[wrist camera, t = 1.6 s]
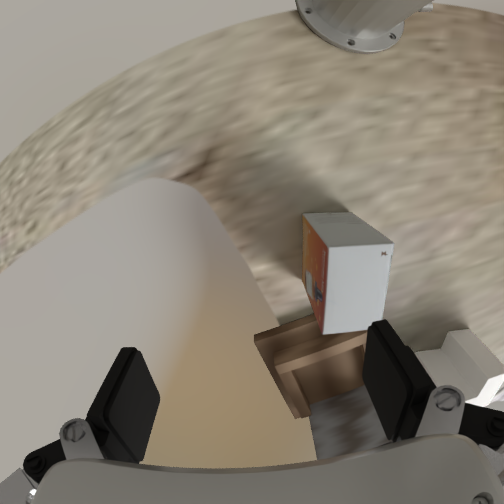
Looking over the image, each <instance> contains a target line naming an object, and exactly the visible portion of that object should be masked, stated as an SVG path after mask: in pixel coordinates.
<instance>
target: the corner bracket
mask: <svg viewBox="0 0 504 504" xmlns="http://www.w3.org/2000/svg"><path fill="white" fill-rule="evenodd" d="M415 355H416V357H417V358H418V360H419V361H420V363H421V364H422V366H423V367H424V369H425V370H426V372H427V373H428V375H429V376H430V378H431V379H432V381H433V382H434V384H435V385H436V387H439V386H443V385H451V386H454V387H457V388H458V389H460V390H461V391H462V393H463V394H464V397H465V403H469V404H473V405H477V406H481V407H484V406H487V405H488V404H489V403H490V402H491V400H492V399H493V397H494V396H495V394H496V393H497V391H498V389H499V388H500V386H501V385H502V383H503V381H504V365H503V364H502V363H501V362H500V361H499V359H498V358H497V357H496V356H495V355H494V354H493V353H492V352H491V351H490V350H489V348H488V347H487V346H486V345H485V344H484V343H483V342H482V341H481V340H480V339H479V338H478V337H477V336H476V335H475V334H474V333H473V332H472V331H471V330H470V329H464V330H456V331H448V333H447V335H446V338H445V340H444V342H443V345H442V347H441V349H435V350H427V351H419V352H415Z"/></svg>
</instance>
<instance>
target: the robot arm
mask: <svg viewBox="0 0 504 504" xmlns="http://www.w3.org/2000/svg"><path fill="white" fill-rule="evenodd" d="M432 1H434V0H295V2H296V6H297V10H298V12H299V14H300V16H301V18H302V19H303V20H304V22H305V23H306V24H307V26H308V27H309V28H310V29H311V30H312V31H313V32H314V33H315V34H317V35H318V36H319V37H321V38H322V39H324V40H325V41H327V42H329V43H330V44H332V45H334V46H336V47H339V48H341V49H344V50H347V51H351V52H354V53H363V54H371V53H378V52H381V51H384V50H386V49H388V48H390V47H391V46H393V45H394V44H395V43H397V41H398V40H399V39H400V38H401V35H402V33H403V30H404V20H405V19H407V18H408V17H409V16H411V15H412V14H414V13H415V12H417V11H419V12H430V11H432V9H433V5H432V3H431V2H432ZM307 13H309V14H307ZM348 43H349V44H350V45H349V44H348ZM362 378H363V382H364V384H365V387H366V389H367V391H368V394H369V396H370V398H371V401H372V403H373V405H374V408H375V410H376V413H377V415H378V417H379V420H380V422H381V425H382V427H383V430H384V432H385V435H386V437H387V439H388V440H392V442H393V443H390V444H387V445H383V446H380V447H376V448H372V449H368V450H364V451H360V452H355V453H351V454H346V455H342V456H337V457H332V458H326V459H321V460H315V461H309V462H302V463H294V464H287V465H277V466H266V467H252V468H226V469H207V468H205V469H203V468H179V467H165V466H154V465H145V464H139V462H140V461H142V460H143V459H144V455H145V451H146V448H147V444H148V441H149V437H150V434H151V430H152V427H153V423H154V420H155V416H156V413H157V409H158V406H159V403H160V395H159V392H158V390H157V388H156V386H155V384H154V381H153V379H152V377H151V375H150V372H149V370H148V367H147V365H146V363H145V360H144V358H143V356H142V354H141V352H140V351H138V350H137V349H136V348H135V347H123V348H122V349H121V350H120V352H119V354H118V356H117V357H116V359H115V361H114V363H113V365H112V367H111V368H110V371H109V372H108V374H107V376H106V378H105V380H104V382H103V384H102V386H101V387H100V390H99V392H98V393H97V395H96V398H95V399H94V401H93V403H92V405H91V407H90V409H89V411H88V413H87V417H86V419H85V420H84V419H80V418H75V419H72V420H69V421H68V422H66V423H65V424H64V425H63V426H62V428H61V429H60V433H59V435H60V439H59V440H57V441H55V442H52V443H50V444H48V445H46V446H44V447H42V448H40V449H37V450H35V451H33V452H31V453H29V454H28V455H27V456H26V458H25V460H24V463H23V467H24V469H23V470H21V469H20V468H19V469H17V470H16V471H15V472H14V473H13V474H11V475H10V476H9V477H8V478H7V479H5V480H4V481H3V482H1V483H0V504H504V412H502V411H498V410H493V409H489V408H485V407H481V406H477V405H473V404H469V403H465V397H464V394H463V393H462V391H461V390H460V389H458V388H457V387H454V386H451V385H443V386H439V387H436V385H435V384H434V382H433V381H432V379H431V378H430V376H429V375H428V373H427V372H426V370H425V369H424V367H423V366H422V364H421V363H420V361H419V360H418V358H417V357H416V355H415V354H414V352H413V351H412V350H411V348H410V347H409V346H405V345H404V344H403V342H402V341H401V339H400V338H399V336H398V335H397V334H396V332H395V331H394V329H393V328H392V327H391V325H390V324H389V322H388V321H387V320H386V319H384V320H379V321H374V322H372V324H371V326H368V329H367V339H366V348H365V356H364V364H363V371H362Z"/></svg>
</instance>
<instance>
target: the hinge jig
mask: <svg viewBox="0 0 504 504" xmlns="http://www.w3.org/2000/svg"><path fill="white" fill-rule="evenodd" d="M366 339H367V330H361V331H353V332H344V333H335V334H322V333H321V330H320V328H319V325H318V322H317V319H316V317H315V314H312V315H309V316H307V317H304V318H301V319H298V320H296V321H293V322H290V323H287V324H284V325H282V326H279V327H276V328H273V329H270V330H267V331H264V332H261V333H258V334H255V335H254V343H255V345H256V347H257V348H258V350H259V352H260V354H261V356H262V358H263V360H264V362H265V364H266V366H267V368H268V370H269V371H270V373H271V375H272V377H273V379H274V381H275V383H276V384H277V386H278V388H279V390H280V392H281V394H282V396H283V398H284V399H285V401H286V403H287V405H288V407H289V408H290V410H291V412H292V414H293V416H294V417H295V419H297V418H300V417H301V418H304V417H308V416H309V419H310V424H311V430H312V435H313V440H314V445H315V450H316V455H317V460H321V459H326V458H332V457H337V456H342V455H346V454H351V453H355V452H360V451H364V450H368V449H372V448H376V447H380V446H383V445H387V444H390V443H393V442H392V440H388V439H387V437H386V435H385V432H384V430H383V427H382V425H381V422H380V420H379V417H378V415H377V413H376V410H375V408H374V405H373V403H372V401H371V398H370V396H369V394H368V391H367V389H366V387H365V384H364V382H363V378H362V371H363V364H364V356H365V348H366Z"/></svg>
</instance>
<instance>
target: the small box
mask: <svg viewBox="0 0 504 504" xmlns="http://www.w3.org/2000/svg"><path fill="white" fill-rule="evenodd" d="M302 223H303V257H302V282H303V284H304V287H305V289H306V292H307V295H308V298H309V300H310V303H311V305H312V308H313V311H314V314H315V317H316V319H317V322H318V325H319V328H320V330H321V333H322V334H335V333H344V332H353V331H361V330H367V329H368V326H371V324H372V322H374V321H379V320H382V318H383V311H384V306H385V299H386V294H387V287H388V281H389V274H390V267H391V261H392V255H393V249H394V243H393V242H392V241H391V240H390V239H388V238H387V237H386V236H384V235H383V234H382V233H380V232H379V231H377V230H376V229H374V228H373V227H372V226H370V225H369V224H367V223H366V222H365V221H363V220H362V219H360V218H359V217H357V216H356V215H355V214H353V213H352V212H337V213H303V214H302Z"/></svg>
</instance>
